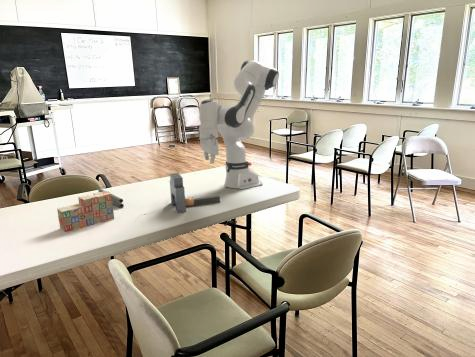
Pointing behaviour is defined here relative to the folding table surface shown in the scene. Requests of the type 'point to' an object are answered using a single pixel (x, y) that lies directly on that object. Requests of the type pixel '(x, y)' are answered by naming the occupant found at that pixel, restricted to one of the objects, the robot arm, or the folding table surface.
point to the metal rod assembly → (115, 199)
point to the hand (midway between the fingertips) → (209, 161)
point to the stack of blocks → (86, 211)
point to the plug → (202, 200)
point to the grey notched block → (177, 192)
